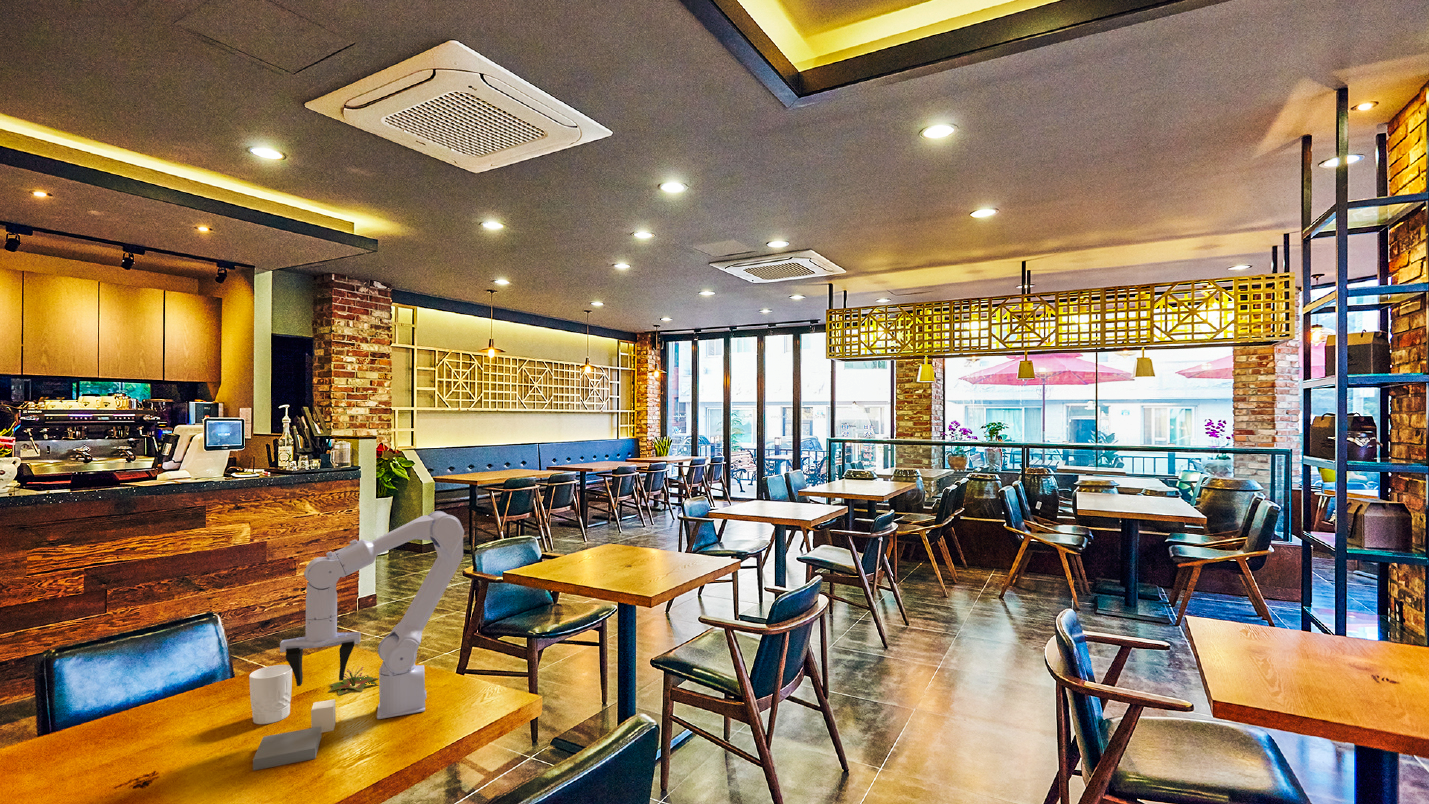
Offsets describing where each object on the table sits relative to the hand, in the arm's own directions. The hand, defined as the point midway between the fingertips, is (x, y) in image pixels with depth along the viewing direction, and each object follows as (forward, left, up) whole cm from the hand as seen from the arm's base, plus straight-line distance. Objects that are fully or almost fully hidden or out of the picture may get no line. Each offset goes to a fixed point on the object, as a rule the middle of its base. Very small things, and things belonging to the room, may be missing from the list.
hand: (320, 681), depth 144 cm
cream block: (0, 0, -10) cm, 10 cm away
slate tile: (+5, +9, -10) cm, 14 cm away
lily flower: (-5, -23, -10) cm, 26 cm away
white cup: (+11, -11, -10) cm, 18 cm away
